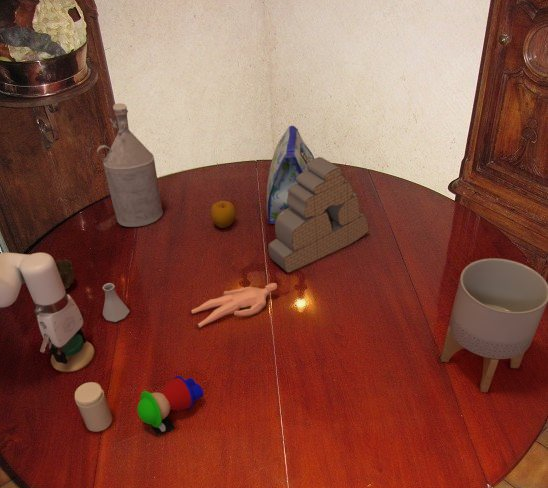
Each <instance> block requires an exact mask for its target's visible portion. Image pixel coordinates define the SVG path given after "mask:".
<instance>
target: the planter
mask: <svg viewBox="0 0 548 488" xmlns="http://www.w3.org/2000/svg"><path fill="white" fill-rule="evenodd" d="M547 305H548V282H547V281H546V279H545V278H544V277H543V276H542V274H540V273H539V272H537V271H536V270H534V269H533V268H531V267H529V266H528V265H525V264H523V263H520V262H518V261H514V260H510V259H506V258H498V257H497V258H495V257H493V258H483V259H478V260H475V261H473V262H470V263H469V264H467V266H465V267H464V268H463V270H462V272H461V273H460V277H459V281H458V284H457V289H456V292H455V297H454V301H453V305H452V308H451V312H450V318H449V321H448V327H447V329H446V333H445V337H444V342H443V345H442V348H441V349H442V350H441V354H440V362H441V363H449V362H450V359H451V358H452V357H453V356H454V355H455V354H456V353H457V352H458V351H461V350H462V349H466V350H467V351H469V352H470V353H473V354H474V355H477V356H481V357H482V361H483V363H482V372H481V378H480V384H479V390H480V392H481V393H482V392H483V393H488V392H489V388H490V386H491V384H492V380H493V377H494V374H495V372H496V369H497V366H498V363H499V360H507V359H510V362H509V366H510V368H511V369H519V368H520V365H521V363H522V360H523V358H524V355H525V353H526V351H527V350H529V348H530V347H531V344H532V342H533V339H534V337H535V335H536V332H537V329H538V327H539V325H540V322H541V319H542V317H543V314H544V313H545V310H546V308H547Z"/></svg>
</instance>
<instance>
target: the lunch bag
mask: <svg viewBox="0 0 548 488" xmlns="http://www.w3.org/2000/svg"><path fill="white" fill-rule="evenodd" d="M313 159H315V156H314V155H313V153H312V151H311V150H310V149H309V147H308V146H307V144H306V143H305V141H304V140H303V137H302V136H301V133H300V132H299V129H298V128H297V127H296V126H295V125H289V126H288V128H287V129H286V130H285V132H284V133H283V135H282V136H281V138H280V139H279V141H278V143H277V145H276V147H275V149H274V152H273V157H272V159H271V163H270V167H269V172H268V178H267V186H266V216H267V217H266V218H267V222H268V224H272V225H273V224H274V225H275V223H276V219H277V217H278V216H279V215H280V214H281V213H282V212H284V211H285V210H286V209H288V208H290V206H288V205H287V198H288V190H289V188H290V187H291V186H292V185H294V184H297V183H298V182H297V181H296V177H297V176H298V175H299V174H301V173H302V172H305V171H307V163H308V162H310V161H311V160H313Z"/></svg>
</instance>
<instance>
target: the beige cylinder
mask: <svg viewBox="0 0 548 488" xmlns="http://www.w3.org/2000/svg"><path fill="white" fill-rule="evenodd" d="M74 401H75V403H76V406H77V408H78V410H79V413H80V415H81V417H82V420H83V423H84V426H85V427H86V429H87V430H89V431H90V432H93V433H96V432H97V433H98V432H102V431H104V430H106V429H107V428H109V427H110V425H112V422H113V417H114V416H113V414H112V412H111V409H110V406H109V403H108V400H107V397H106V395H105V392H104V389H103V388H102V386H101V385H100V383H98V382H93V381H89V382H85V383H83V384H81V385H80V386H78V387H77V388H76V390H75V392H74Z"/></svg>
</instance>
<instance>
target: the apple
mask: <svg viewBox="0 0 548 488" xmlns="http://www.w3.org/2000/svg"><path fill="white" fill-rule="evenodd" d="M210 208H211V209H210V218H211V220H212V222H213V223H214V224H215V226H217V228H219V229H225V228H228V227H230V226H231V225H232V224H233V222H234V221H235V220H236V217H237V211H236V208H235V206H234V204H233V203H232V202H231V201H228V200H219V201H216V202H215V203H213V204H212V206H211V207H210Z"/></svg>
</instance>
